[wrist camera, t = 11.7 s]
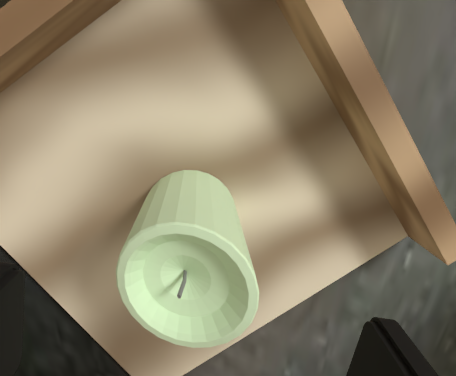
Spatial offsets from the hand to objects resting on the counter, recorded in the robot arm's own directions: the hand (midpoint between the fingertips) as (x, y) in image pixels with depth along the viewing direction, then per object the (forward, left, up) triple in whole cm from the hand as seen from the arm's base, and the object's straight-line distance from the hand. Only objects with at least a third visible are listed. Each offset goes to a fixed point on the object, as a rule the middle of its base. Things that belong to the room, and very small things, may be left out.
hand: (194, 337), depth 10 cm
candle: (0, 0, -10) cm, 10 cm away
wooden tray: (+1, 0, -11) cm, 11 cm away
